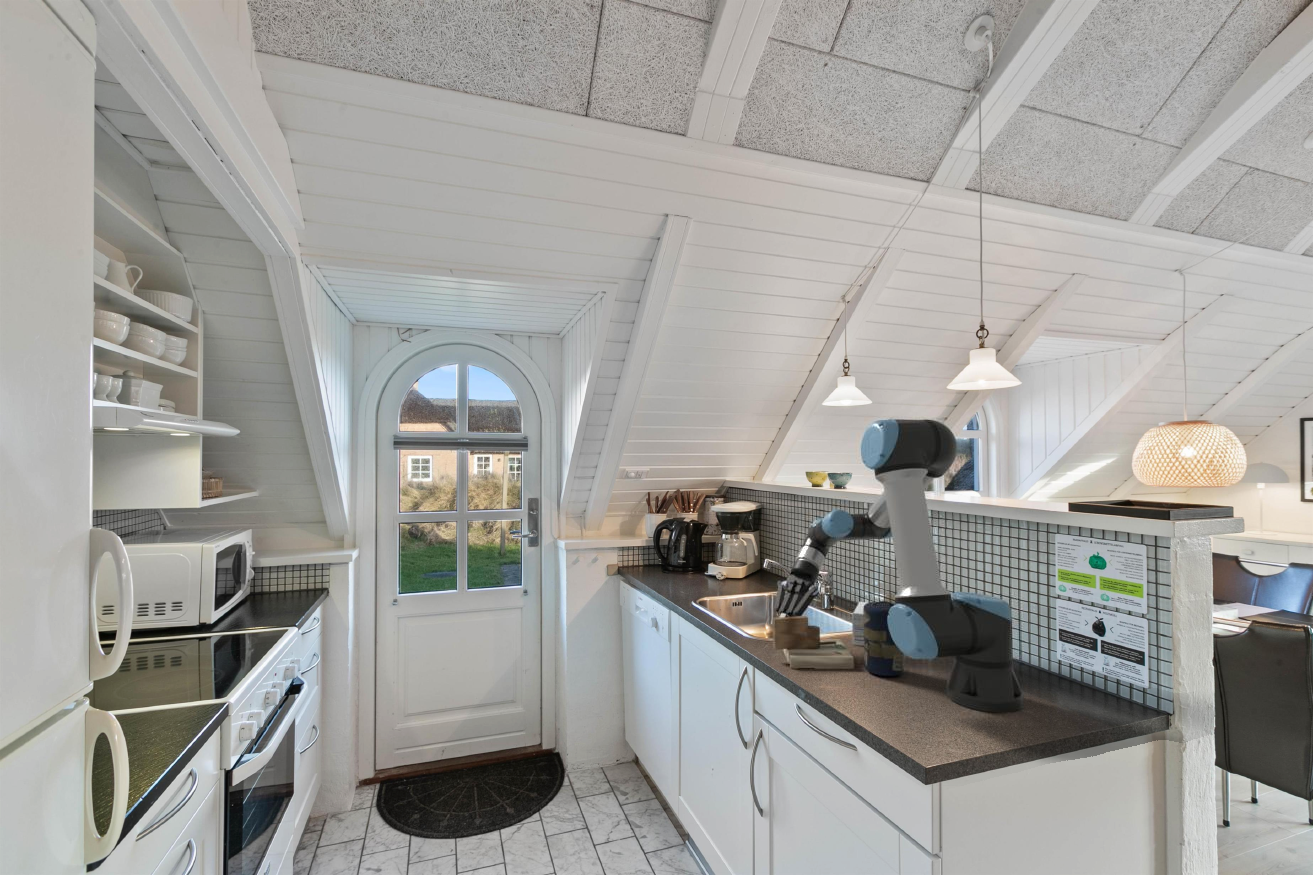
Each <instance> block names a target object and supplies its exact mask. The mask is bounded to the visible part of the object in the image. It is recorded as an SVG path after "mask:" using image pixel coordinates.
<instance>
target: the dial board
mask: <svg viewBox="0 0 1313 875" xmlns="http://www.w3.org/2000/svg"><path fill="white" fill-rule="evenodd" d="M829 641H836V644H828V645H820V647H819V648H808V647H806V648H792V649H782V651H783V653H784V655H785V658H786V661H787V662H789V663H788V665H789V664H790V665H789V667H790V669H798V668H815V669H819V670H821V669H822V670H824V669H825V670H855V666H854V665H855V664H854V663H855V662H854V661H855V659H854V656H853V655H852V653H851V652H850V651H849V649H848V648H847V647H846V645H845V644H844V643H843V642H842V641H841V639H840V638H820V642H829ZM815 669H814V670H815Z"/></svg>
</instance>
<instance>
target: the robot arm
mask: <svg viewBox="0 0 1313 875" xmlns="http://www.w3.org/2000/svg"><path fill="white" fill-rule="evenodd" d="M860 443H861V444H860V456H861V461H862V463H863V464H864V465H865V468H868V469H870V470H872V471H874V478H875V480H877V481H878V482H879V483H880V484H882V485H883V492H882V493H881V494H880V495H879V496H878V498H877V499H876V500H875V501H874V503H872V505H871V506H870V507H869V509H868V510H867V511H865V513H849V512H848V511H846V510H845V511H844V510H843V509H841V508H840V509H838V508H837V509H833V510H832V511H830V512H828V513H827V514H826V515H825V516H824V517H823V518H819V519H815V520H814V521H813V522H812V523H811V525H810V527H809V528H808V531H807V534H806V537H805V539H804V541H803V544H802V545H801V548H800V550H799V551H798V554H797V555H796V558H795V561H794V563H793V565H792V567H791V569H790V574H789V576H788V577H786V580H783V581H781V580H778V581H777V592H776V597H775V602H774V608H773V609H774V611H775V612H776V613H777V616H776V618H781V617H797V616H804V613H805V612H806V610H807V608H808V607H809V606H810V605H811V603H812V602H813V600H814V599H815V598H816V597H817V596H818V595H819V594H820V591H819V590H818V587H817V586H815V583H816V581H817V579H818V577H819V575H820V571H821V570H822V568H823V564H824V562H825V561H826V558H827V555H828V553H829V551H830V549H831V548H832V547H833V546H834V545H836V544H837V543H838V542H840V541H841V542H842V541H859V540H861V541H862V540H863V541H864V540H884V539H890V538H892V544H893V550H894V556H895V563H896V569H897V575H898V579H899V580H898V581H899V585H900V587H899V588H900V589H898V590H899V591H898V592H897V593H896V594H895V595H894V599H895V603H894V604H895V605H894V606H893V607H891V608H890V610H889V615H888V628H889V631H890V634H891V637H892V639H893V641H894V643H895V644H896V646H897V647H898V648H899V649H900V651H901V652H902V653H903V655H905V656H906V657H908V658H910V659H913V660H914V659H915V660H923V659H924V660H934V659H938V658H945V657H946V658H947V657H949V658H950V657H954V660H953V664H952V668H951V670H950V673H949V676H948V679H947V682H946V696H947V697H948V698H949V699H950V700H951V701H952V702H955V703H957V704H958V705H961V706H963V707H966V708H968V709H969V708H970V709H973V710H977V711H983V712H990V713H1012V712H1017V711H1019V710H1021V709H1023V708H1024V695H1023V692H1022V690H1021V686H1020V683H1019V681H1018V678H1017V676H1016V673H1015V671H1014V663H1013V658H1014V657H1013V619H1012V610H1011V606H1010V604H1009V602H1007V601H1006V600H1004V599H1001V598H999V597H996V596H995V597H994V596H991V595H987V594H982V593H976V592H975V593H974V592H968V591H967V592H966V591H954V592H953V593H951V591H949V590H948V589H947V588H945V587H944V586H943V585H942V581H941V580H942V579H941V575H940V570H939V566H938V559H937V553H936V547H935V543H934V537H933V532H932V531H933V530H932V525H931V522H930V520H931V519H930V515H929V511H928V510H929V509H928V504H927V499H926V493H925V489H926V488H927V487H928V486H929V485H931V483H932V481H934V480H935V479H938V478H941V477H943V476H944V475H945V474H946V473H947V471H949V470H950V468H951V467H952V466H953V463H954V462H955V460H956V457H957V454H958V443H957V438H956V437H955V435H954V433H953V431H952V430H951V429H950V428H949V427H948V426H947V425H946V424H944V423H942V422H940V421H938V420H935V419H898V418H897V419H896V418H889V419H880V420H878V419H877V420H875V421H873V422H872V423H871V424H869V426H867V428H866V430H865V431H864V433H863V435H862V438H861V442H860Z"/></svg>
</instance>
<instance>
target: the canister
mask: <svg viewBox="0 0 1313 875" xmlns="http://www.w3.org/2000/svg"><path fill="white" fill-rule="evenodd" d="M895 604H896V603H893V602H890V601H887V600H881V601H869V603H867V604H865V605H864V608H863V635H864V646H863V666H864V668H865V670H866V671H868V672H869V673H871V674H872V675H873V674H874V675H877V676H881V677H882V676H883V677H895V676H899V675H902V673H903V672H904V670H905V669H904V653H902V652H901V651H900V649H899V648H898V647H897V646H896V644H895V643H894V641H893V639H892V637H891V634H890V631H889V628H888V615H889V610H890V608H891V607H893V606H894V605H895Z"/></svg>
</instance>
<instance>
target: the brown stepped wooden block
mask: <svg viewBox="0 0 1313 875" xmlns="http://www.w3.org/2000/svg"><path fill="white" fill-rule="evenodd" d="M820 630H821V628H820V626H817V625H809V617H808V616H806V615H802V616H797V617H781V618H777V617H772V648H773V649H774V650H783V649H792V648H806V647H808V648H819V647H820V645H828V644H836V641H829V642H820V639H821V631H820Z"/></svg>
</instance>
